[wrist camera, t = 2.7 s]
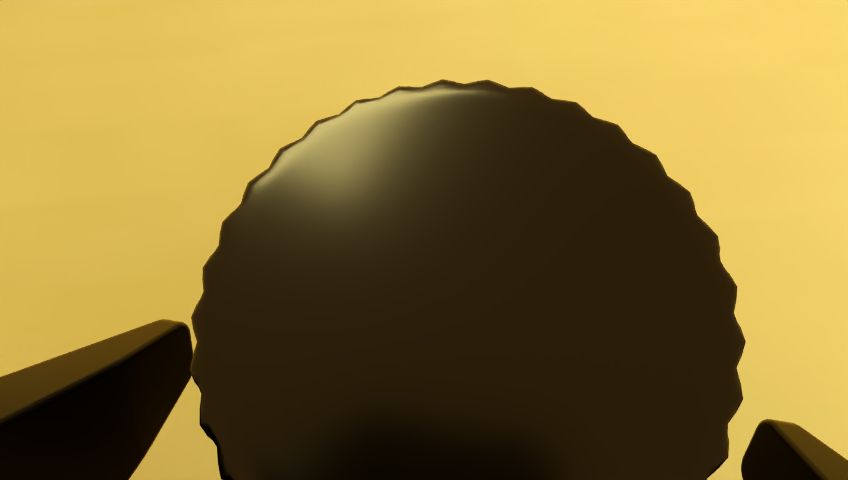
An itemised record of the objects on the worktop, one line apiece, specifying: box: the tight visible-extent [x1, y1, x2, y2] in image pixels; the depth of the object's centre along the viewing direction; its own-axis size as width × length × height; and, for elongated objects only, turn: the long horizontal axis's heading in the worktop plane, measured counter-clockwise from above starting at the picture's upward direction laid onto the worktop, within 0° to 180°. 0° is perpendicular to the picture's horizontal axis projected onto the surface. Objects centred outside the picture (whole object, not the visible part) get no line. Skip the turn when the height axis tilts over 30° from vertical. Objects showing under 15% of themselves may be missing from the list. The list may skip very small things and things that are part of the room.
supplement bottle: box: [190, 80, 746, 480], centre depth 10 cm, size 7×7×12 cm
